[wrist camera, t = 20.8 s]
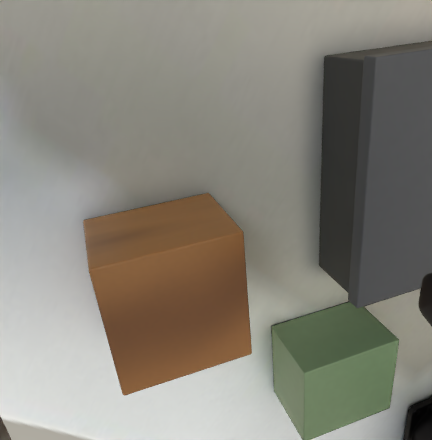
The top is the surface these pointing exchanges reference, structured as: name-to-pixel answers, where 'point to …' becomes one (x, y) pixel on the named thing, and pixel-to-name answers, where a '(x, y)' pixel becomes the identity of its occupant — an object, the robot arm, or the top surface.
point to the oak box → (169, 289)
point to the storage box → (377, 171)
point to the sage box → (333, 368)
